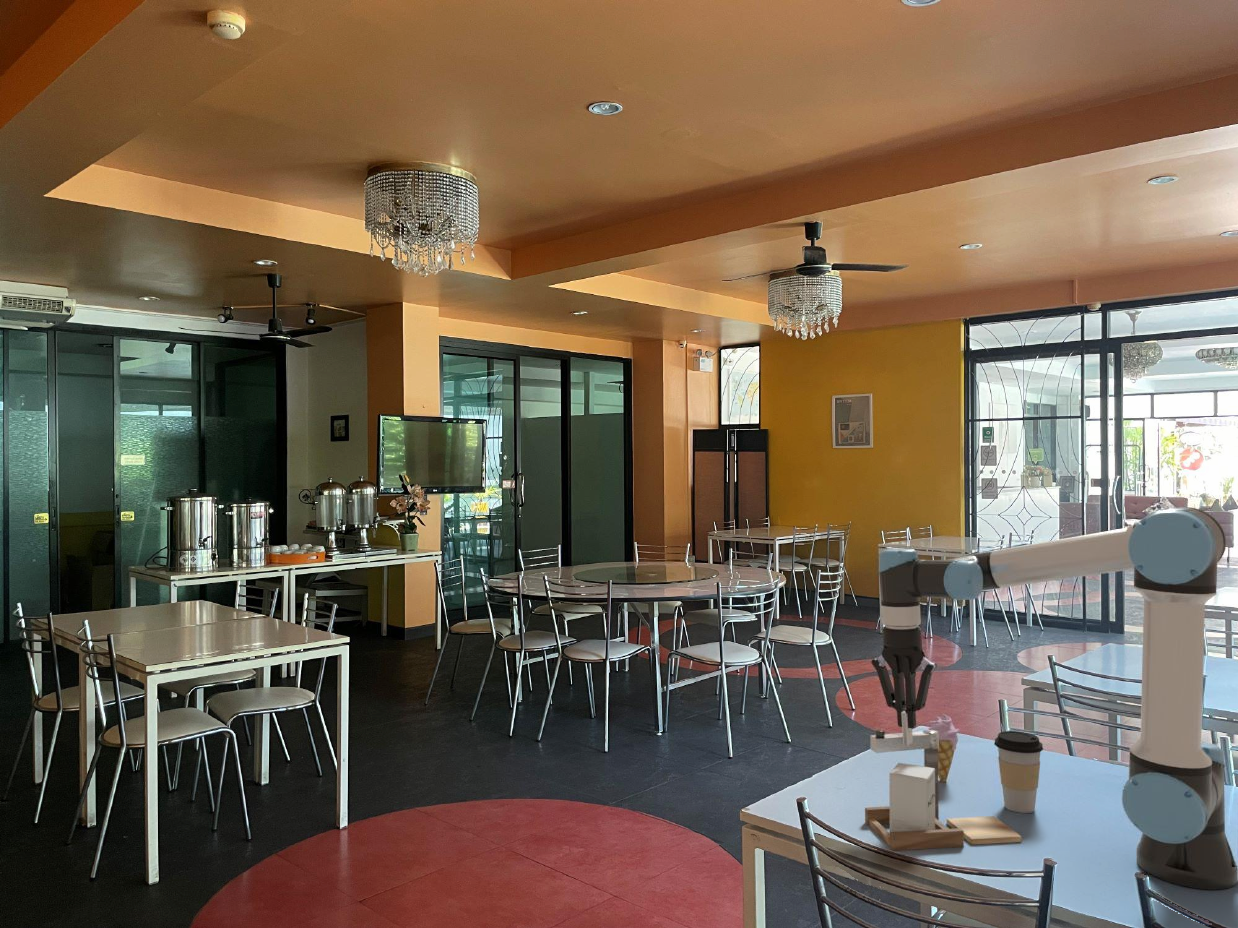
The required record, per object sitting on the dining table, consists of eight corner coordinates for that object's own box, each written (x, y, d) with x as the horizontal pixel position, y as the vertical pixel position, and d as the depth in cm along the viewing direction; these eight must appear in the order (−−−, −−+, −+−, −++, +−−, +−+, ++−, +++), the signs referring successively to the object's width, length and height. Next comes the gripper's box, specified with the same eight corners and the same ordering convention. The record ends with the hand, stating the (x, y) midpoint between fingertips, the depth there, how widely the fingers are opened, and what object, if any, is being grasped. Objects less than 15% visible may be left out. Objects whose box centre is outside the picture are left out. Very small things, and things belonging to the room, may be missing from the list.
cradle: (971, 846, 168) (970, 770, 168) (892, 850, 166) (892, 774, 166) (934, 814, 183) (933, 745, 183) (861, 818, 181) (861, 748, 181)
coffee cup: (1049, 817, 181) (1048, 744, 181) (1000, 814, 183) (999, 741, 183) (1037, 800, 190) (1036, 730, 190) (990, 797, 192) (989, 728, 192)
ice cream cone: (962, 779, 203) (962, 714, 203) (956, 787, 198) (956, 720, 198) (932, 774, 207) (932, 710, 207) (926, 782, 202) (925, 716, 202)
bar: (933, 743, 184) (933, 723, 184) (941, 748, 181) (941, 727, 181) (869, 749, 180) (869, 729, 180) (877, 753, 177) (877, 733, 177)
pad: (1021, 841, 170) (1021, 836, 170) (971, 844, 169) (971, 839, 169) (993, 820, 180) (993, 815, 180) (946, 823, 178) (946, 818, 178)
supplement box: (927, 845, 168) (927, 778, 168) (888, 836, 172) (887, 771, 172) (936, 831, 175) (936, 767, 175) (898, 823, 179) (897, 761, 179)
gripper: (939, 624, 178) (945, 743, 177) (878, 621, 185) (885, 734, 185) (925, 630, 172) (932, 753, 171) (864, 626, 180) (870, 743, 179)
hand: (907, 743), depth 178 cm, fingers closed
